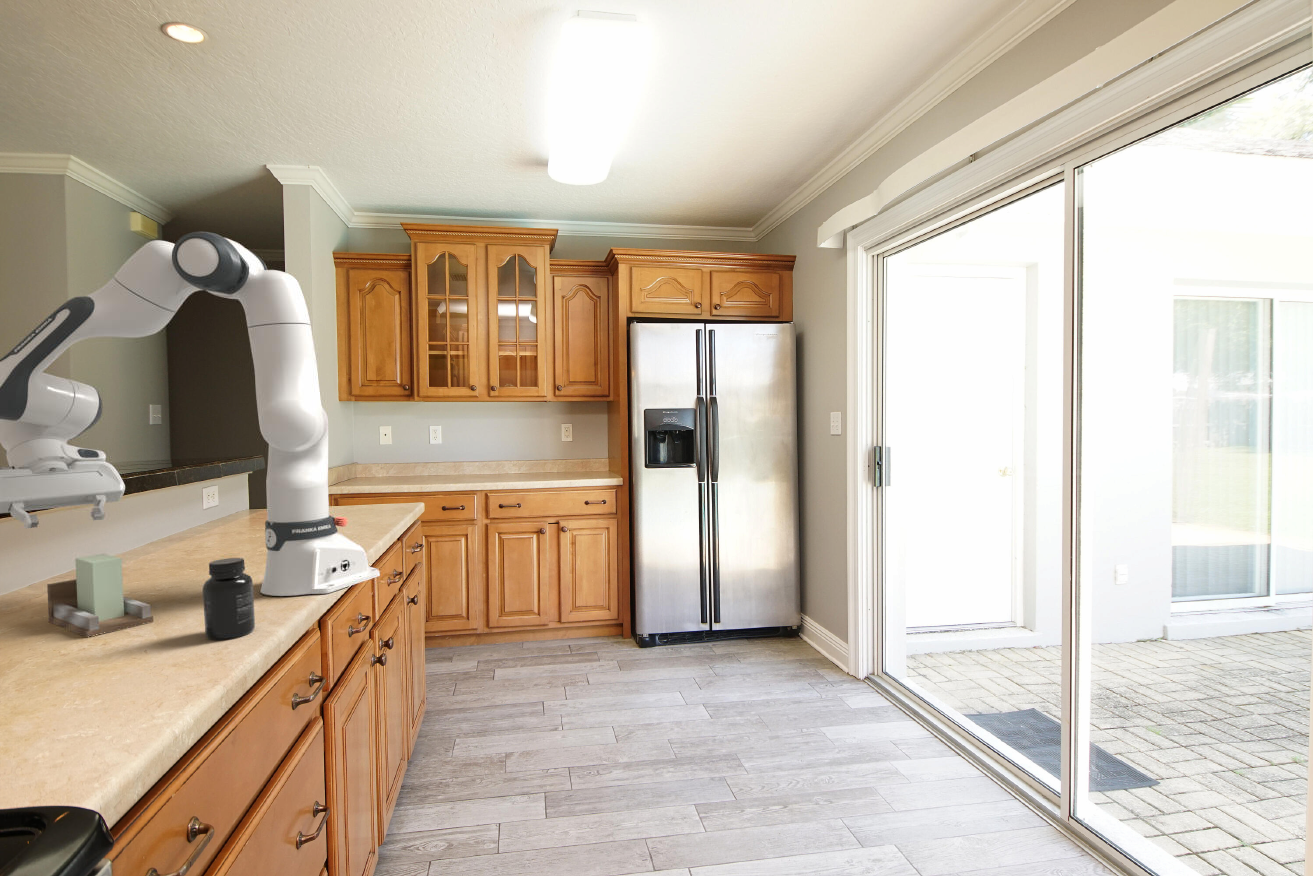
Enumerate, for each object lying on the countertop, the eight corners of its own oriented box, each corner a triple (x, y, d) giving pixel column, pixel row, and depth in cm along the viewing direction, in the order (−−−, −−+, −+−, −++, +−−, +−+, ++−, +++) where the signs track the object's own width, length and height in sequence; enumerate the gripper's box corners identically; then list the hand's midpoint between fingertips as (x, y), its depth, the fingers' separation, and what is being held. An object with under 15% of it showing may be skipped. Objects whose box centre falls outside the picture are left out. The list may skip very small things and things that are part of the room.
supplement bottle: (249, 623, 112) (246, 553, 111) (259, 633, 107) (257, 560, 106) (200, 633, 107) (197, 560, 107) (209, 644, 102) (206, 567, 102)
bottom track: (49, 621, 114) (47, 584, 113) (112, 607, 121) (111, 572, 121) (87, 637, 106) (85, 597, 105) (153, 621, 113) (151, 584, 113)
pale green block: (78, 615, 114) (75, 558, 113) (106, 609, 117) (104, 553, 117) (95, 622, 110) (92, 563, 110) (124, 615, 114) (121, 558, 113)
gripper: (-32, 457, 113) (-9, 518, 109) (113, 450, 131) (138, 503, 126) (-39, 482, 116) (-17, 542, 111) (105, 472, 133) (128, 524, 129)
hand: (67, 521), depth 119 cm, fingers open, 8 cm apart
